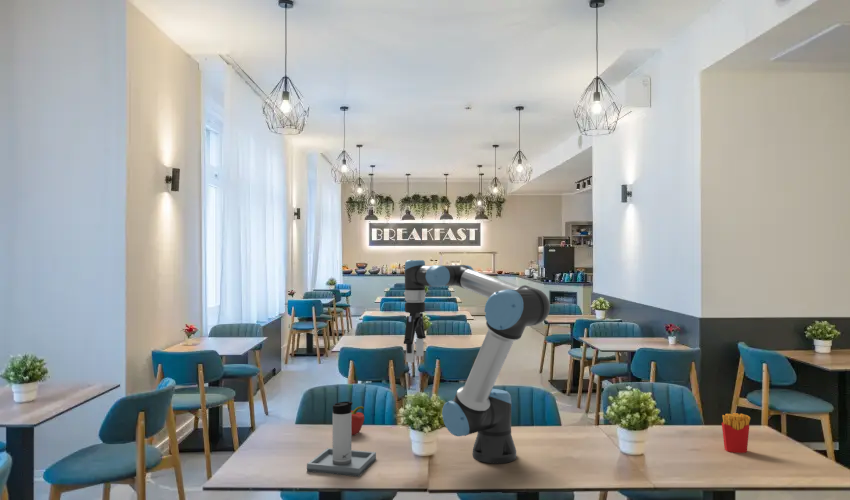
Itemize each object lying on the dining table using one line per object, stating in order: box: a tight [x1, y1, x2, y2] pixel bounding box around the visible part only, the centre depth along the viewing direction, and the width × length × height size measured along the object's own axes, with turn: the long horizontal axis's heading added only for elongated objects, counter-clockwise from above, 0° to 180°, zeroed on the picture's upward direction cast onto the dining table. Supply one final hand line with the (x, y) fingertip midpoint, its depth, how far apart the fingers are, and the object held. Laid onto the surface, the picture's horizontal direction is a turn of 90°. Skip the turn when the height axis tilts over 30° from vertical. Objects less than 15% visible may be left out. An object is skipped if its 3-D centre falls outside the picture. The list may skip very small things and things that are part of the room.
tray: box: [306, 447, 377, 477], centre depth 192 cm, size 18×16×2 cm
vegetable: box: [351, 405, 365, 436], centre depth 227 cm, size 11×10×10 cm
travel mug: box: [332, 401, 353, 465], centre depth 192 cm, size 6×7×20 cm
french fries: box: [721, 412, 751, 454], centre depth 205 cm, size 9×4×13 cm, turn 85°
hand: (415, 359), depth 213 cm, fingers open, 13 cm apart
